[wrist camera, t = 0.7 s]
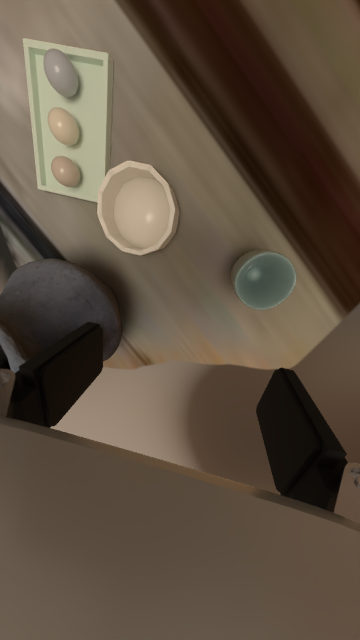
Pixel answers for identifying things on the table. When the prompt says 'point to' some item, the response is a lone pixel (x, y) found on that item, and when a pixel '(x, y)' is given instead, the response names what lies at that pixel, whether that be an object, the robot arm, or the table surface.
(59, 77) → the pebble
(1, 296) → the pitcher
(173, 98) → the table surface
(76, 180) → the pebble
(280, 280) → the cup
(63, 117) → the pebble
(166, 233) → the bowl
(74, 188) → the tray
